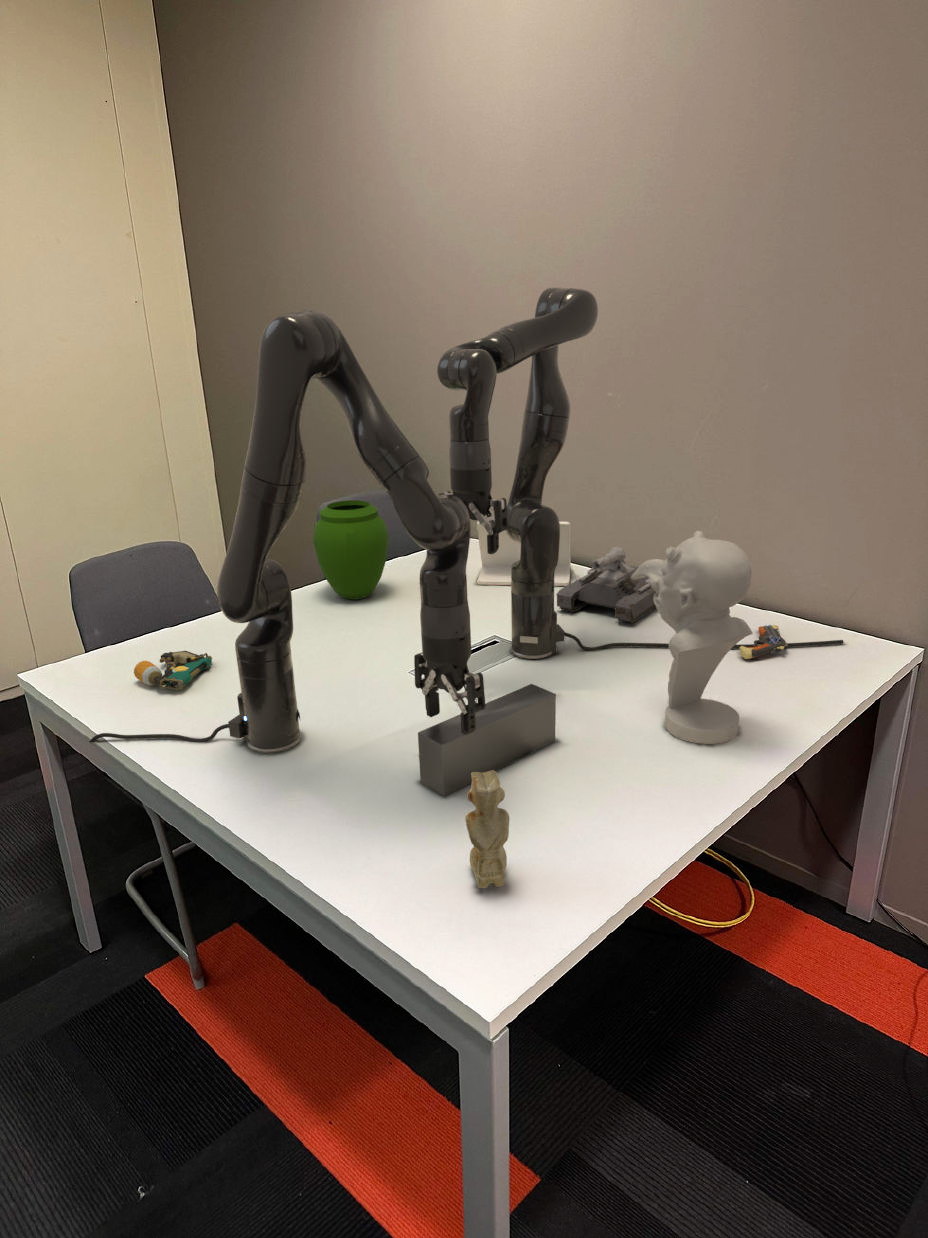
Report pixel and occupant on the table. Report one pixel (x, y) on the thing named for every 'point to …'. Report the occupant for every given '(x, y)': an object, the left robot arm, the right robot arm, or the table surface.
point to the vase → (351, 547)
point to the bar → (487, 739)
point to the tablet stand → (518, 558)
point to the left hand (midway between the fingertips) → (450, 723)
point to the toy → (610, 589)
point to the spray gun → (172, 669)
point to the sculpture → (487, 829)
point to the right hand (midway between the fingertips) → (473, 550)
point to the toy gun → (764, 642)
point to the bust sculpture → (699, 629)
